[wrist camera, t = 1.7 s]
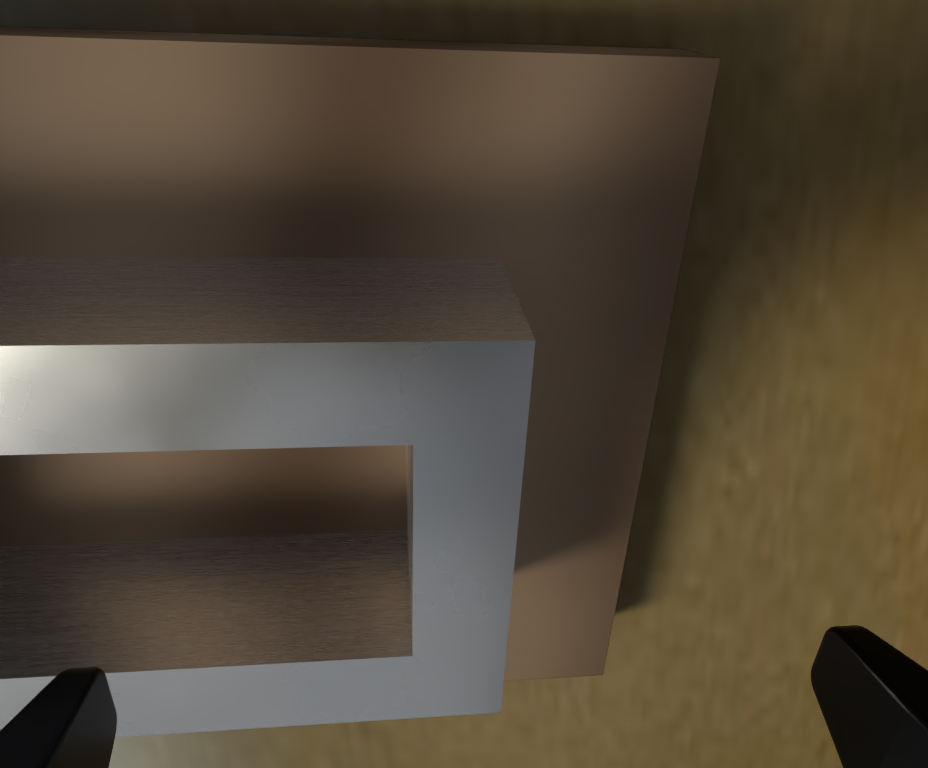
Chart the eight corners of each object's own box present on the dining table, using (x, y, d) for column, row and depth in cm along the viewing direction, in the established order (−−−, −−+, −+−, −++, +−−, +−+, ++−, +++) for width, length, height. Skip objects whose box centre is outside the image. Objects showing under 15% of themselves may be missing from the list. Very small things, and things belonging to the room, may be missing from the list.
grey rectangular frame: (500, 258, 12) (535, 340, 9) (480, 583, 15) (501, 711, 12) (-339, 256, 10) (-580, 351, 8) (-154, 613, 14) (-278, 763, 11)
